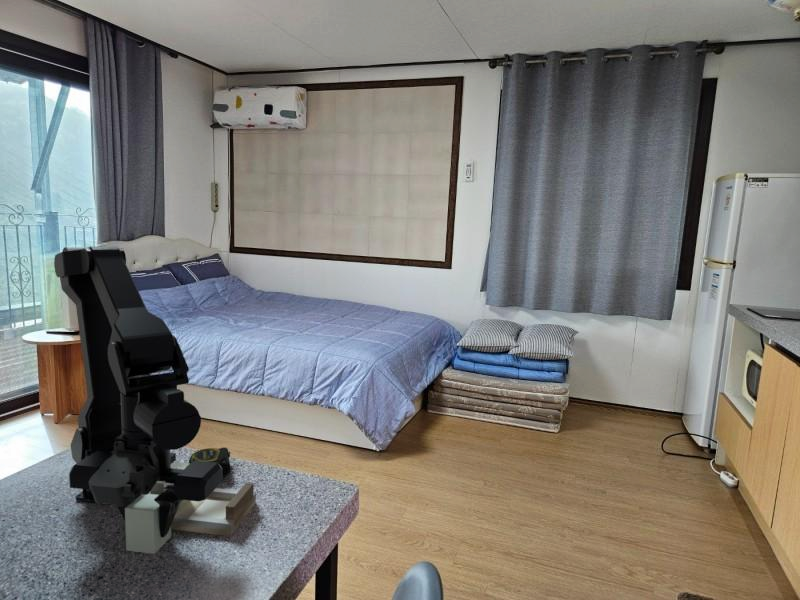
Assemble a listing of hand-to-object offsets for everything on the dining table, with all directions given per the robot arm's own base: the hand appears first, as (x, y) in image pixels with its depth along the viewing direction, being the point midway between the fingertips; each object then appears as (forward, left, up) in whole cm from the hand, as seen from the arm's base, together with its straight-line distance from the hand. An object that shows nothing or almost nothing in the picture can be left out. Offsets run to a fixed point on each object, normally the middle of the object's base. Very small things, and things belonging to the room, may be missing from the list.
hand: (149, 533), depth 72 cm
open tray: (+3, +8, -1) cm, 9 cm away
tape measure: (-1, +21, -2) cm, 21 cm away
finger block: (0, 0, -1) cm, 1 cm away
